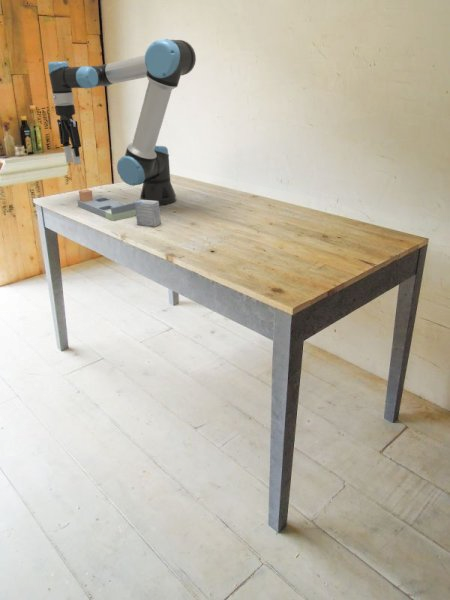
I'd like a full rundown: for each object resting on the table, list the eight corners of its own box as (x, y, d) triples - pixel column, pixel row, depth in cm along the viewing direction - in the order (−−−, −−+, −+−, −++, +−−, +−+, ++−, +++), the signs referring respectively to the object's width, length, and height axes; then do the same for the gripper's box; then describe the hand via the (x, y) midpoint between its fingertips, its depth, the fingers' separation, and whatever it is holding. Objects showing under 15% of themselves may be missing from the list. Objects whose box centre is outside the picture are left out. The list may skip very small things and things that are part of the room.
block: (80, 200, 211) (78, 191, 209) (88, 198, 213) (87, 189, 212) (84, 202, 208) (83, 192, 206) (93, 200, 211) (91, 190, 209)
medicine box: (161, 223, 186) (159, 200, 182) (155, 227, 183) (152, 203, 179) (143, 221, 189) (141, 199, 186) (136, 225, 186) (134, 202, 182)
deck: (78, 206, 212) (76, 194, 210) (101, 201, 218) (100, 190, 216) (113, 221, 191) (112, 208, 189) (138, 215, 197) (137, 202, 195)
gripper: (45, 104, 204) (55, 161, 214) (66, 106, 190) (75, 167, 200) (62, 102, 208) (71, 159, 218) (84, 104, 195) (92, 164, 205)
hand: (73, 163), depth 209 cm, fingers open, 7 cm apart
